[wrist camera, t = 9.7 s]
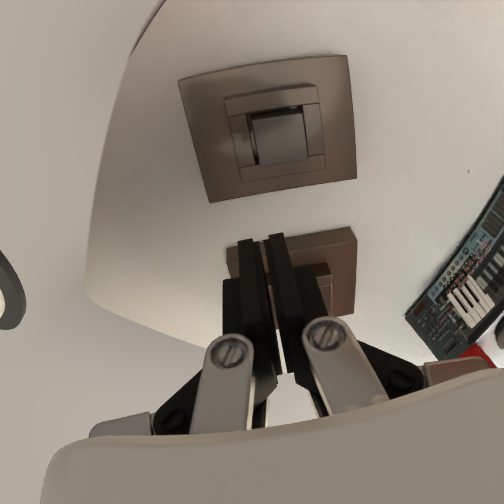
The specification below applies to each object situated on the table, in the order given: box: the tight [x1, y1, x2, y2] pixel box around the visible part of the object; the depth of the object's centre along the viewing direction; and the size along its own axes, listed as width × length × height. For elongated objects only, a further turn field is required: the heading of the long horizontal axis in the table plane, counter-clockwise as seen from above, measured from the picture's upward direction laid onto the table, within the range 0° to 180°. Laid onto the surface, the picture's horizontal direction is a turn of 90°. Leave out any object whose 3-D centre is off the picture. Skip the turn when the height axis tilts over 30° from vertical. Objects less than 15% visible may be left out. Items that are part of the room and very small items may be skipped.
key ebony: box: [250, 108, 308, 167], centre depth 19 cm, size 3×3×2 cm
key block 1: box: [178, 55, 357, 203], centre depth 21 cm, size 12×10×4 cm
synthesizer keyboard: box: [405, 181, 504, 361], centre depth 29 cm, size 22×10×10 cm
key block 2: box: [226, 227, 357, 329], centre depth 31 cm, size 12×10×4 cm
